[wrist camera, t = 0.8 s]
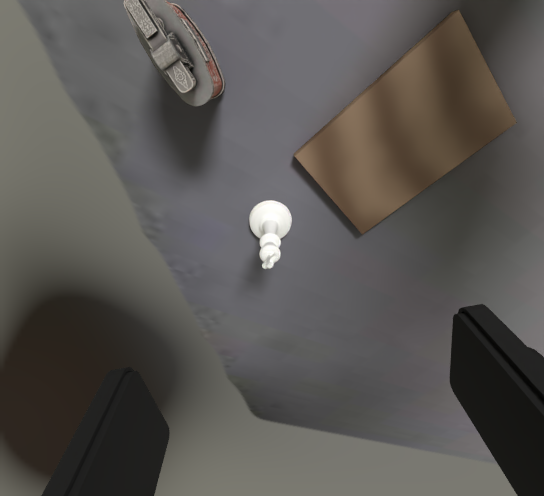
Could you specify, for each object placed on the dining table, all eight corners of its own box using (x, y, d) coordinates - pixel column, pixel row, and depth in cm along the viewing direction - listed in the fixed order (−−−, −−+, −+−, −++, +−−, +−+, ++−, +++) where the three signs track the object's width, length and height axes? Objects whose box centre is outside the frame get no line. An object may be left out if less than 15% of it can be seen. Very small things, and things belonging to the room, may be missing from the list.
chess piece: (240, 221, 38) (231, 267, 29) (269, 191, 36) (268, 231, 27) (271, 246, 40) (271, 297, 31) (300, 219, 38) (308, 265, 29)
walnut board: (451, 12, 28) (458, 9, 27) (508, 120, 33) (516, 122, 32) (293, 153, 34) (294, 156, 33) (359, 229, 38) (362, 234, 37)
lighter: (233, 86, 31) (218, 93, 22) (204, 105, 32) (179, 120, 23) (180, -5, 28) (139, -38, 19) (150, 19, 29) (96, -1, 20)
